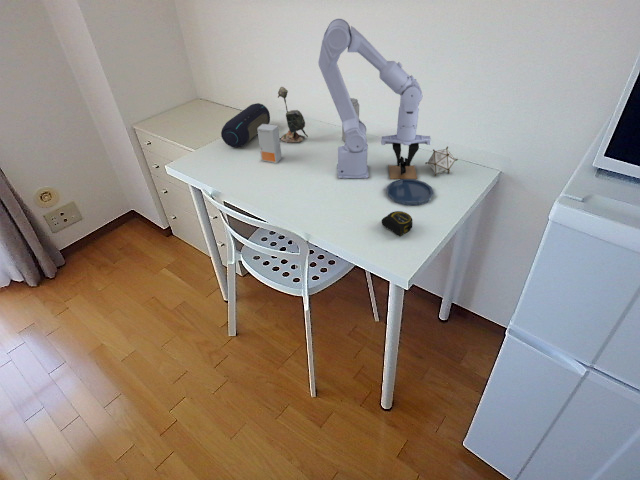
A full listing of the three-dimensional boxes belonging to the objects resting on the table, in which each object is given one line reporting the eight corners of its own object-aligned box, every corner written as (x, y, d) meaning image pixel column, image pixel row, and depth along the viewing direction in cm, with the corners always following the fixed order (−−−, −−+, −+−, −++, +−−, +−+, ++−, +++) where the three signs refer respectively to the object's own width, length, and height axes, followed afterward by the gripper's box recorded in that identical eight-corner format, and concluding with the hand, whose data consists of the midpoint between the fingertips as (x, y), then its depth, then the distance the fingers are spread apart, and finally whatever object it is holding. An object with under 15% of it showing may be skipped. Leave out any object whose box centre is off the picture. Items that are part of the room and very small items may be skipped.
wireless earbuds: (400, 164, 129) (398, 152, 126) (408, 163, 129) (407, 151, 125) (401, 178, 125) (400, 166, 121) (409, 177, 124) (408, 165, 121)
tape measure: (379, 227, 106) (380, 216, 103) (399, 218, 109) (400, 207, 106) (397, 240, 101) (398, 228, 99) (417, 230, 104) (418, 218, 102)
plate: (388, 205, 114) (388, 202, 113) (385, 181, 124) (386, 178, 123) (435, 205, 113) (436, 202, 112) (429, 182, 123) (429, 179, 122)
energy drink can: (361, 140, 149) (362, 99, 139) (352, 145, 145) (352, 104, 136) (348, 136, 152) (349, 96, 142) (339, 141, 148) (338, 101, 139)
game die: (443, 185, 128) (458, 171, 119) (418, 175, 128) (432, 160, 118) (449, 162, 131) (465, 147, 122) (425, 152, 131) (439, 136, 121)
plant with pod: (298, 147, 146) (294, 92, 133) (276, 140, 152) (270, 86, 139) (313, 140, 150) (310, 85, 138) (291, 132, 156) (286, 80, 144)
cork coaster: (390, 179, 125) (390, 178, 125) (388, 166, 132) (388, 165, 132) (417, 179, 125) (417, 178, 124) (414, 166, 131) (414, 165, 131)
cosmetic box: (261, 161, 138) (256, 128, 131) (267, 155, 141) (262, 123, 134) (276, 163, 136) (272, 130, 129) (282, 158, 140) (278, 125, 132)
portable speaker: (244, 152, 144) (240, 126, 138) (220, 149, 147) (215, 123, 141) (275, 126, 162) (272, 101, 156) (253, 123, 165) (249, 99, 159)
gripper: (383, 129, 116) (380, 170, 124) (434, 128, 114) (428, 171, 123) (382, 119, 121) (379, 160, 130) (430, 119, 120) (425, 160, 128)
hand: (403, 164), depth 127 cm, fingers closed on wireless earbuds, 2 cm apart
